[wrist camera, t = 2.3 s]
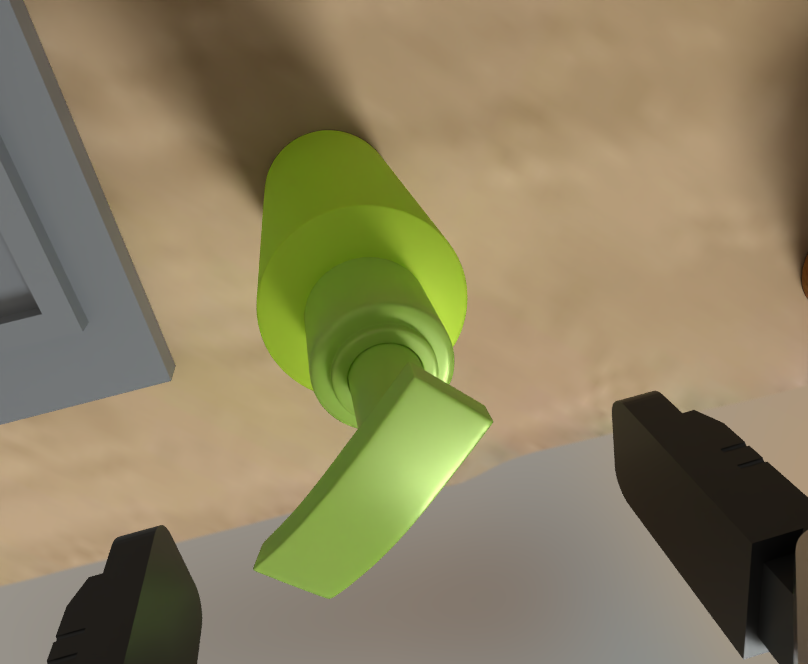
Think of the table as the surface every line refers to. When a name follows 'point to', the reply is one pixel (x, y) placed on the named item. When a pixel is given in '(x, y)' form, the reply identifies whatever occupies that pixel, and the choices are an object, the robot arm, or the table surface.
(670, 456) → the robot arm
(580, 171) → the table surface
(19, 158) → the stand
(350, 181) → the soap dispenser
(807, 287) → the disposable coffee cup
